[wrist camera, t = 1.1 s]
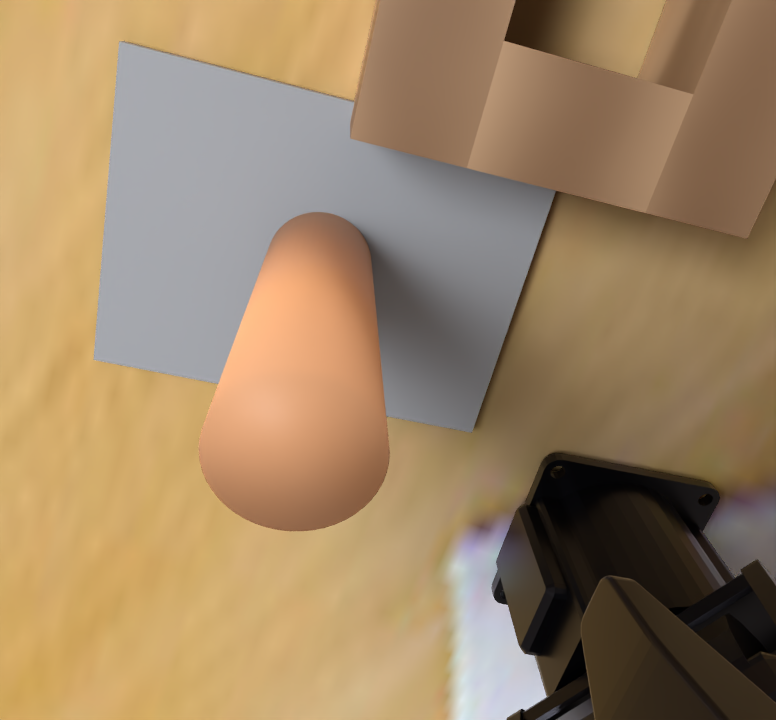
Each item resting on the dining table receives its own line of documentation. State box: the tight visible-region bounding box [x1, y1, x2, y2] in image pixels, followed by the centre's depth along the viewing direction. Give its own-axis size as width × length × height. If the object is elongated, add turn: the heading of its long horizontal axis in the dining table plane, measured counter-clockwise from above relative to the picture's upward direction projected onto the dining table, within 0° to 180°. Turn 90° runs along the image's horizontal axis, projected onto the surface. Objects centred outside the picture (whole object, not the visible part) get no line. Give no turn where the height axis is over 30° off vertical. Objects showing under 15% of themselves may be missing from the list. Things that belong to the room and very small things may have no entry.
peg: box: [199, 212, 390, 531], centre depth 16 cm, size 3×3×10 cm
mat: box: [94, 41, 556, 433], centre depth 20 cm, size 12×9×1 cm
